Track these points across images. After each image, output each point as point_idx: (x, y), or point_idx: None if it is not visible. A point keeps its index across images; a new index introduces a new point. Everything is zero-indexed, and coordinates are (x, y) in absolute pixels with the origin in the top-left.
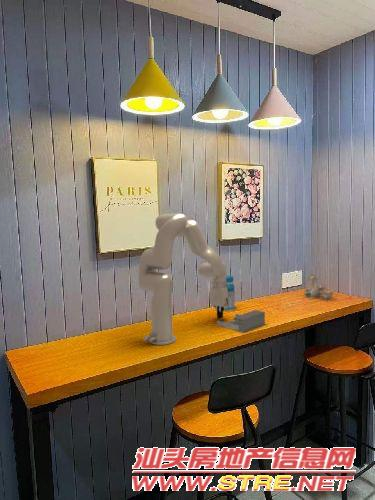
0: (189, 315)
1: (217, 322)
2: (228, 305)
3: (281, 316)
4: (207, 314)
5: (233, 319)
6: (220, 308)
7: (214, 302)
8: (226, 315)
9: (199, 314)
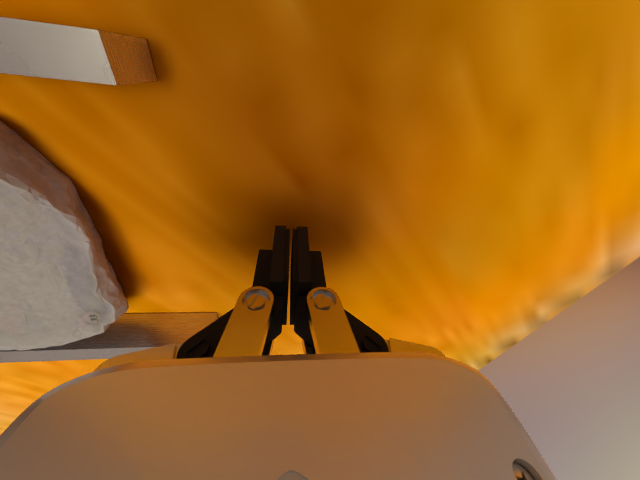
0: (623, 189)
1: (112, 33)
2: None
3: None
4: (460, 283)
5: (88, 257)
6: (232, 333)
7: (361, 447)
8: None
9: (525, 255)
